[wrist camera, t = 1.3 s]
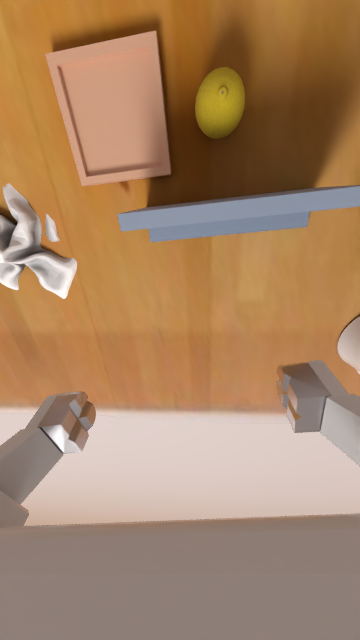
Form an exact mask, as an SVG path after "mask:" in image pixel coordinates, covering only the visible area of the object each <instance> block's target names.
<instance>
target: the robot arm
mask: <svg viewBox="0 0 360 640" xmlns="http://www.w3.org/2000/svg"><path fill="white" fill-rule="evenodd" d="M338 353H339V355H340V357H341V358H342V359H343V360H344V361H345V362H346V363H348V364H349V365H351V366H352V367H354V368H355V369H356V371H357V372H358V373H359V374H360V316H359V317H358V318H356V319H355V320H354V321H352V322H351V323H350V324H349V325H348V326H347V327H346V329H345V330H344V331H343V333H342V334H341V336H340V338H339V341H338ZM277 374H278V376H279V378H280V379H279V380H278V381H277V390H278V395H279V398H280V401H281V403H282V405H283V406H284V407H285V408H286V409H287V417H288V419H289V421H290V424H291V426H292V428H293V430H294V432H295V433H302V432H318V431H320V433H321V434H322V435H324V436H325V437H326V438H327V439H328V440H329V441H331V442H332V443H333V444H334V445H335V446H337V447H338V448H339V449H340V450H341V451H342V452H344V453H345V454H346V455H347V456H348V457H349V458H351V459H352V460H353V461H354V462H355V463H357V464H358V465H359V466H360V397H359V396H357V395H355V394H349V393H348V392H347V391H346V390H345V388H344V387H343V386H342V385H341V383H340V382H339V381H338V380H337V378H336V377H335V376H334V375H333V373H332V372H331V371H330V370H329V368H328V367H327V366H326V365H325V363H324V362H323V361H321V360H316V361H308V362H301V363H294V364H287V365H280V366H278V368H277ZM87 399H88V396H87V395H86V393H85V392H72V393H62V394H54V395H50V396H48V397H47V398H46V399H45V401H44V402H43V403H42V405H41V406H40V408H39V409H38V411H37V412H36V413H35V415H34V417H33V418H32V419H31V421H30V422H29V424H28V425H27V426H26V428H25V429H23V430H20V431H19V432H18V433H17V434H15V435H14V436H12V437H11V438H10V439H9V440H7V441H6V442H5V443H3V444H2V445H1V446H0V640H360V514H335V515H334V514H333V515H308V516H280V517H255V518H254V517H253V518H226V519H203V520H202V519H200V520H174V521H147V522H121V523H95V524H68V525H45V526H44V525H42V526H23V525H24V523H25V521H26V519H27V517H28V515H29V513H28V510H27V509H25V508H24V507H22V506H21V503H22V502H23V501H24V500H25V499H26V498H27V496H28V495H29V494H30V493H31V492H32V491H33V490H34V488H35V487H36V486H37V485H38V484H39V482H40V481H41V480H42V479H43V478H44V477H45V476H46V475H47V473H48V472H49V471H50V470H51V469H52V468H53V466H54V465H55V464H56V463H57V462H58V461H59V459H60V458H61V457H62V456H63V454H66V453H75V452H82V450H83V448H84V446H85V443H86V441H87V438H88V436H89V435H88V432H87V431H88V430H89V429H90V428H91V427H92V426H93V424H94V421H95V416H96V411H95V407H94V406H93V404H92V403H90V402H89V401H87Z"/></svg>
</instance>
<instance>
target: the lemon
mask: <svg viewBox="0 0 360 640" xmlns="http://www.w3.org/2000/svg"><path fill="white" fill-rule="evenodd" d="M244 108H245V88H244V85H243V82H242V79H241V78H240V76H239V75H238V73H237V72H235V71H234V70H233V69H231V68H228V67H220V68H217V69H214V70H213V71H212V72H210V73H209V74H208V75H207V76H206V77H205V79H204V80H203V81H202V83H201V85H200V87H199V89H198V93H197V96H196V102H195V115H196V120H197V123H198V126H199V127H200V129H201V131H202V132H203V133H204V134H205V135H206V136H208V137H210V138H214V139H220V138H224V137H226V136H228V135H229V134H230V133H231V132H233V131H234V129H235V128H236V127H237V125H238V124H239V122H240V120H241V118H242V115H243V112H244Z"/></svg>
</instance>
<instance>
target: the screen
mask: <svg viewBox="0 0 360 640" xmlns="http://www.w3.org/2000/svg"><path fill="white" fill-rule="evenodd" d="M356 206H360V185H352V186H336V187H320V188H307V189H299V190H290V191H282V192H273V193H265V194H256V195H248V196H239V197H231V198H222V199H214V200H205V201H197V202H188V203H180V204H171V205H163V206H154V207H146V208H142V209H138V210H133V211H129V212H125V213H121V214H117V215H118V219H119V224H120V228H121V231H129V230H139V229H148V228H149V234H150V240H151V242H157V241H167V240H178V239H188V238H198V237H208V236H218V235H228V234H239V233H249V232H259V231H269V230H279V229H290V228H300V227H307V225H308V219H309V213H310V211H319V210H328V209H337V208H347V207H356Z"/></svg>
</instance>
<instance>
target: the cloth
mask: <svg viewBox="0 0 360 640" xmlns="http://www.w3.org/2000/svg"><path fill="white" fill-rule="evenodd" d="M3 193H4V197H5V201H6V204H7V206H8V208H9V210H10V212H11V214H12V216H13V217H14V218H15V220H16V221H17V222H18V224H15V223H13V222H12V221H10V220H8V219H7V218H5V217H4V216H2V215H0V282H1V283H2V284H4V285H5V286H7V287H9V288H12V289H15V290H18V289H19V287H18V277H19V275H20V273H21V272H22V271H23V269H24V267H25V266H26V265H27V266H28V267H29V268H31V269H32V270H33V271H34V273H35V274H36V275H37V276H38V280H39V282H40V283H41V285H42V286H43V287H44V288H45V289H47V290H49V291H51V292H53V293H55V294H57V295H58V296H60V297H62V298H66V297H67V294H68V291H69V288H70V286H71V283H72V280H73V278H74V275H75V273H76V270H77V262H76V260H75V259H73V258H68V259H66V258H62V257H60V256H58V255H56V254H54V253H52V252H50V251H48V250H44V249H43V248H42V247H41V246H40V240H41V223H40V219H39V217H38V216H37V214H36V213H35V212H34V210H33V209H32V208H31V207H30V205H29V203H28V201H27V200H26V199H25V198H24V197H23V196H22V195H21V194H20V193H19V192H18V191H16V190H15V189H14V188H13V187H12V186H11V185H10V184H9V183H8V184H7V185H6V186H4V187H3ZM45 226H46V235H47V237H48V238H49V240H50V241H52V242H55V241H59V236H58V234H57V230H56V226H55V222H54V221H53V220H52V219H51V218H50V217H49V216H48V215H47V214H46V225H45Z"/></svg>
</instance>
